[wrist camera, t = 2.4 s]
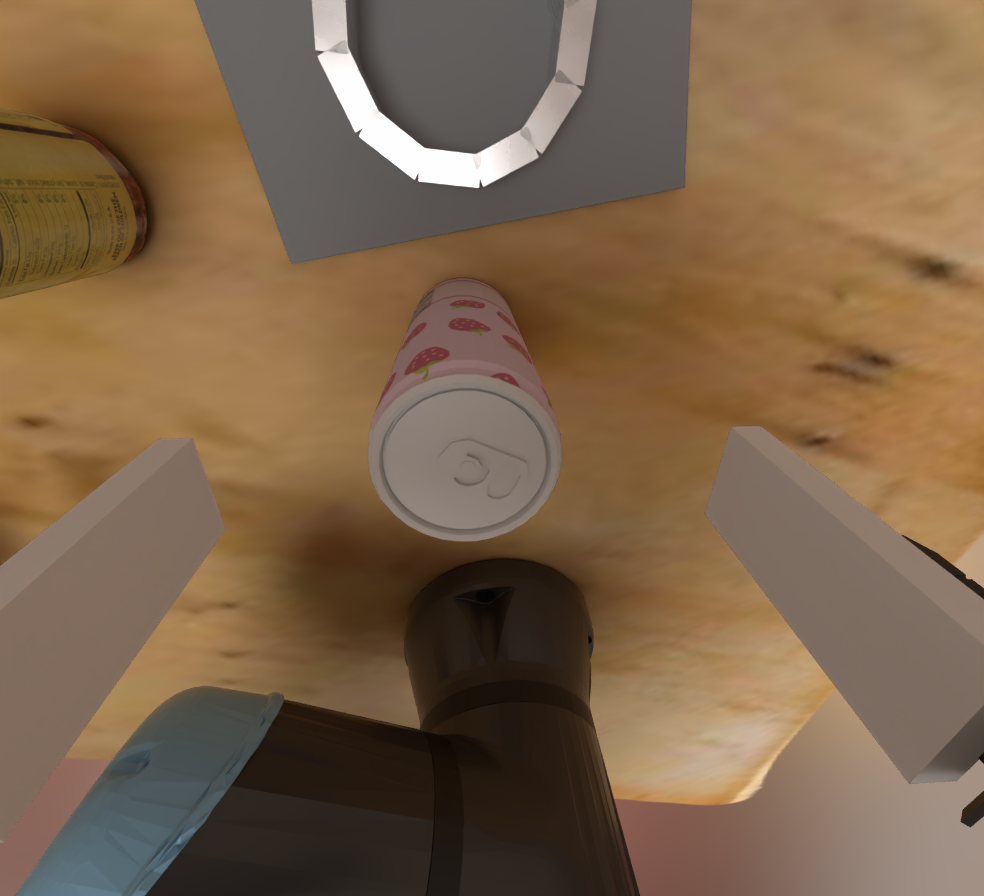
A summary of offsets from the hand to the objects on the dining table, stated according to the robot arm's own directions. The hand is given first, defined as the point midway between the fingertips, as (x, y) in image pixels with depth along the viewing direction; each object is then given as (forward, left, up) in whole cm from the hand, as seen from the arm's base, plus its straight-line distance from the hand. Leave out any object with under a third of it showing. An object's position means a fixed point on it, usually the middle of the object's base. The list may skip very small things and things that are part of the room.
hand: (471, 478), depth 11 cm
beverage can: (0, 0, -16) cm, 16 cm away
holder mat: (+7, -10, -16) cm, 20 cm away
